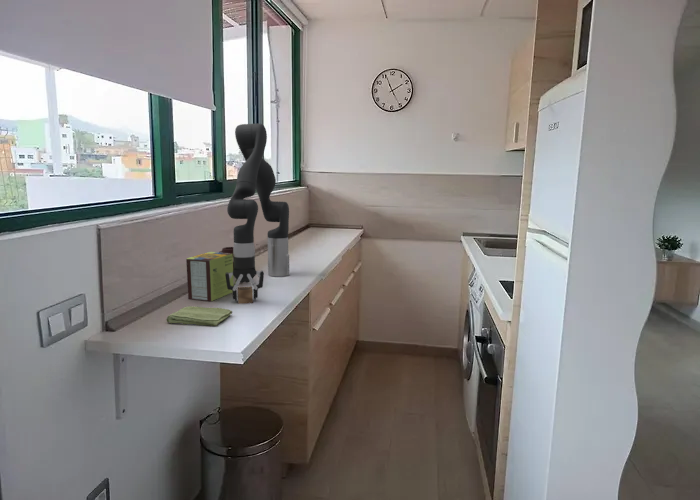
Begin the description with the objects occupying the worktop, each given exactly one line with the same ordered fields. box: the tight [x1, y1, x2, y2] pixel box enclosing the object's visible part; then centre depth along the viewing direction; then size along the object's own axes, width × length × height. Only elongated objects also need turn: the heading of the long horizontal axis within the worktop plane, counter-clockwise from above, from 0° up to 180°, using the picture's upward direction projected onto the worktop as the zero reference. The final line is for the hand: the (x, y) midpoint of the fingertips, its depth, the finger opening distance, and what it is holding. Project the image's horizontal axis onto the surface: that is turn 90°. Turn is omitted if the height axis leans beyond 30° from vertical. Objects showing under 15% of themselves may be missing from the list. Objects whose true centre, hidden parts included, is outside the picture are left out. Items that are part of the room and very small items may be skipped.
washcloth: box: [165, 305, 233, 327], centre depth 161 cm, size 13×18×3 cm
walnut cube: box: [237, 286, 254, 305], centre depth 182 cm, size 5×5×5 cm
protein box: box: [185, 251, 233, 302], centre depth 189 cm, size 10×15×16 cm
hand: (245, 299), depth 182 cm, fingers open, 6 cm apart
